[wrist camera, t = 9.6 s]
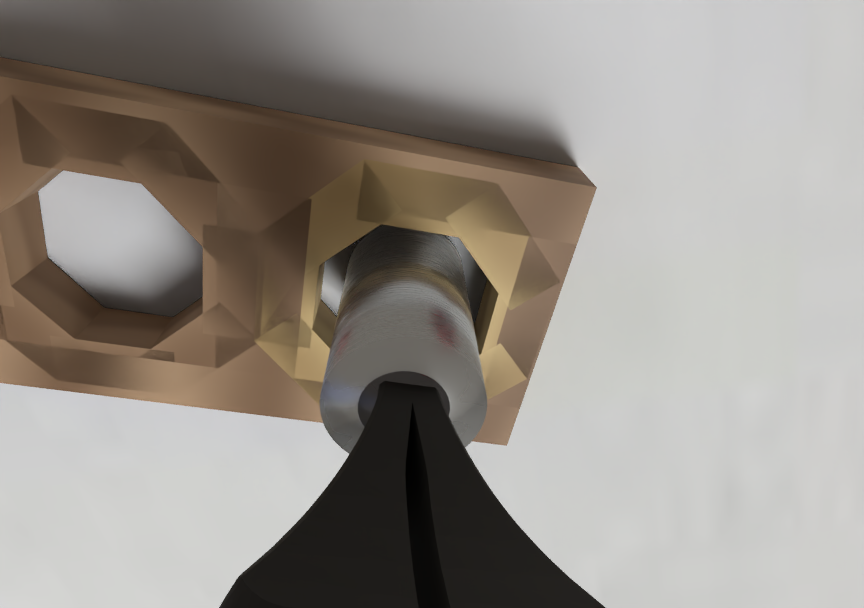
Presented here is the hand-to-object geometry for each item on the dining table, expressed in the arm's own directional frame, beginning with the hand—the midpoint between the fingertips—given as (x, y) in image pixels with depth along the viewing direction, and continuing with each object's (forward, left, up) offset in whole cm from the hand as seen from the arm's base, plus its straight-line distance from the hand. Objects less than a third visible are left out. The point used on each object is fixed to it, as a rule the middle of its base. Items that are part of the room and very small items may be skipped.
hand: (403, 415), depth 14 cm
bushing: (0, 0, -7) cm, 7 cm away
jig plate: (-5, 0, -7) cm, 8 cm away
